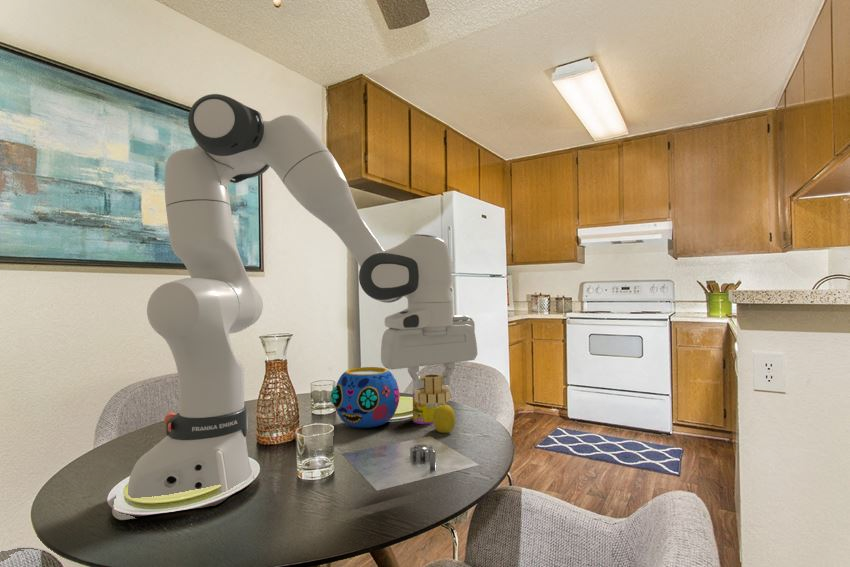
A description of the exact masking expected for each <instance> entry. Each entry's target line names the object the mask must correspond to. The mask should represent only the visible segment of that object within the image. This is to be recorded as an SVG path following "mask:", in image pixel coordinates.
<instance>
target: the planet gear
mask: <svg viewBox="0 0 850 567" xmlns="http://www.w3.org/2000/svg"><path fill="white" fill-rule="evenodd" d="M419 376H420V379H421V380H424V389H421V390H414V401H415V402H418V403H422V404H436V403H437V405H438V404H439V405H441V404H443V403H445V404H446V403H448V402H450V401H451V389H450V388H449V387H447V386H444V376H443V374H440V373H426V374H422V375H419Z"/></svg>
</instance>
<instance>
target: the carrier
mask: <svg viewBox="0 0 850 567" xmlns="http://www.w3.org/2000/svg"><path fill="white" fill-rule="evenodd" d="M341 455H342V456H343V457H344V458H345V459H346V460H347V461H348V462H349V464H351V465H352V466H353V467H354V468H355V470H356V471H358V473H359V474H360V475H361V476H362V477H363V478H364V479H365V480H366V481H367V482H368V483H369V484H370V485H371V486H372V487H373V489H374V490H375V491H376V492H377V491H382V490H385V489H389V488H394V487H397V486H401V485H407V484H409V483H414V482H418V481H421V480H425V479H426V480H427V479H429V478H435V477H437V476H442V475H447V474H449V473H453V472H458V471H462V470H466V469H470V468H474V467H478V466H480V464H479V463H477V462H475V461H473V460H472V459H470V458H469V457H467V456H465V455H463V454H462V453H460V452H458V451H457V450H455V449H454V448H452V447H450V446H448V445H446V444H445V443H443V442H441V441H440V440H438V439H437V438H435V437H432V436H425V437H420V438H415V439H410V440H405V441H400V442H395V443H389V444H384V445H379V446H375V447H370V448H365V449H360V450H354V451H349V452H345V453H341Z"/></svg>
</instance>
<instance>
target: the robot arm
mask: <svg viewBox="0 0 850 567" xmlns="http://www.w3.org/2000/svg"><path fill="white" fill-rule="evenodd" d="M187 120H188V128H189V131H190V133H191V134H190V135H191V136H192V138H193V139H194V141H195V142H196V144H197V145H196V146H194V147H193V148H182V149H180V150H177V151H175V152H173V153H172V154H171V155H170V156H168V158H167V160H166V164H165V173H164V200H165V201H164V202H165V210H166V212H165V213H166V218H167V227H168V235H169V242H170V248H171V250H172V252H173V253H174V255H175V256H177V258H179V260H181V262H182V263H183V265H184V266H185V268H186V270H187V272H188V274H189V276H190V277H184V278H182V279H176V280H173V281H169V282H166V283H163V284H161V285H160V286H158V287H157V288H156V289H155V290H154V291H153V292H152V294H151V295H150V297H149V299H148V301H147V306H146V314H147V320H148V322H149V325H150V326H151V328H152V329H153V330H154V332H156V333H157V334H158V335H160V336H161V337H162V338H163V339H164V341H166V343H167V345H168V347H169V349H170V351H171V353H172V357H173V359H174V362H175V366H176V371H177V379H178V380H177V381H178V408H179V410H178V413H175V412H168V413H167V414H166V415H165V417H164V421H163V422H164V423H165V426H166V427H165V434H166V436H165V437H164V438H163V439H161V440H160V441H159V442H157V443H156V444H155V445H154V446H153V447H152V448H150V449H149V450H147V451H146V452H145V453H144V454H143V455H141V457H139V459H138V460H137V461H136V463H135V464H134V466H133V467H132V469H131V472H130V476H129V479H128V484H127V485H128V495H129V496H130V497H131V498H141V497H152V496H153V497H154V496H161V495H169V494H174V493H179V492H185V491H189V490H195V489H201V488H206V487H210V486H214V485H219V484H220V485H221V488H219V489H218V490H217V491H218V492H226V491H228V490H230V489H231V488H233V487H234V486H236V485H238V484H239V483H241V482H243V481H245V480H247V479H248V478H249V477H250V476H251V474H252V472H253V470H252V466H251V462H250V460H249V459H250V458H249V453H248V447H247V437H246V436H247V435H248V434H247V433H248V425H249V423H248V422H249V421H248V411H247V406H246V405H245V367H244V365H243V363H242V362H241V361H240V360H239V359H237V357H236V355H235V354H234V350H233V347H232V344H231V339H230V334H236V333H239V332H242V331H244V330H246V329H247V328H249V327H250V326H252V325H254V324H256V322H258V321H259V319H260V317H261V315H262V312H263V309H264V308H263V307H264V304H263V299H262V298H263V297H262V296H261V294H260V292H259V291H258V290H257V289H256V288H255V286H254V285H253V283H252V282H251V280H250V278H249V276H248V273H247V271H246V268H245V266H244V263H243V261H242V258H241V255H240V253H239V250H238V246H237V241H236V234H235V229H234V228H235V227H234V222H233V220H234V219H233V214H232V206H231V199H230V195H229V194H230V193H229V184H230V183H233V184H238V183H241V182H243V181H245V180H247V179H252V178H255V177H258V176H261V175H262V174H264V173H266V172H267V171H268V170H269V168H271V169H272V170H273V171H274V172H275V174H276V175H277V176H278V178H279V179H280V181H281V182H282V184H283V185H284V186H285V188H286V189H287V190H288V192H289V193H290V194H291V196H292V197H293V198H294V199H295V200H296V201H297V202H298V203H299V204H300V206H302V207H303V208H304V209H305V210H307V212H309V214H312V216H314V217H315V218H317V219H318V220H320V221H321V222H322V223H323V224H324V225H326V226H327V227H328V228H330V229H331V231H333V232H334V233H335V234H336V235H337V237H339V239H340V240H341V242H342V243H343V244H344V246H345V247H346V248H347V250H348V251H349V252H350V254H351V255H352V256H353V258H354V259H355V261H356V262H357V264H358V265H359V267H360V268H359V270H358V271H359V273H358V280H359V285H360V287H361V289H362V290H363V292H364V293H365V294H366V295H367V296H368V297H369V298H371V299H373V300H376V301H378V302H381V303H389V304H390V303H394V302H397V301H399V300H401V299H402V298H403V297H405V298H406V299H407V308H405V309H403V310H400V311H397V312H395V313H393V314H390V315H387V316H386V317H385V319H384V326H385V327H386V328H387V329H386V330H385V331H384V332H383V334H382V338H381V346H380V347H381V348H380V362H381V365H382V366H384V367H383V368H385V369H387V370H399V369H400V370H401V369H407V372H408V374H409V376H410V378H411V380H413V381H412V382H413V383H412V384H413V388H414V389H415V390H421V389H424V380H421V379H419V377H418V376H419V375H418V374H417V373H419V372H420V367H425V366H426V367H427V366H434V365H435V366H436V365H442V364H443V367H444V371H443V373H442V375H443V376H444V387H447V386H448V387H449V386H451V377H452V374H453V372H454V370H455V369H456V368H455V365H456V364H455V363H460V362H462V363H463V362H469V361H475V359H476V358H477V356H478V345H477V337H476V331H475V330H476V329H475V321H474V320H473V318H471V317H470V316H469V315H466V314H464V315H453V312H454V311H453V310H454V309H453V297H452V295H451V285H452V280H453V275H452V273H453V272H452V259H451V253H450V248H449V246H448V244H447V243H446V241H445V240H444V239H442V238H440V237H438V236H435V235H431V234H420V233H419V234H413V235H411V236H409V238H407V239H406V240H404V241H403V242H401V243H399V244H397V245H396V246H393V247H392V248H388V249H384V248H383V247H382V245H381V243H380V242H379V241H378V239H377V238H376V237H375V234H373V233H372V231H371V230H370V228H369V227H368V225H367V224H366V222H365V221H364V219H363V218H362V215H361V214H360V212H359V210H358V207H357V205H356V202H355V200H354V197H353V194H352V192H351V189H350V186H349V183H348V180H347V178H346V176H345V174H344V172H343V170H342V169H341V167H340V165H339V164H338V161H337V160H336V158H335V157H334V156H333V154H332V153H331V151H330V150H329V149H328V147H327V146H326V145H325V143H324V142H323V141H322V140H321V138H319V137H320V136H318V135H317V134H316V133H315V132H314V131H313V130H312V129H311V127H309V126H308V125H307V124H306V123H305V121H303V120H302V119H301V118H300V117H297V116H295V115H291V114H290V115H289V114H286V115H285V114H284V115H281V116H277V117H275V118H273V119H271V120H269V121H266V120H264V119H263V116H262V114H261V113H260V111H258V110H256V109H253V108H252V107H250V106H247V105H246V104H243V103H242V102H240V101H238V100H236V99H234V98H232V97H230V96H227V95H225V94H220V93H211V94H206V95H204V96H202V97H200V98H198V99H197V100H196V101H195V102H194V103H193V104H192V106H191V107H190V110H189V113H188V119H187ZM128 504H129V505H132V506H133V505H134V504H133V503H132V502H130V501H128ZM111 514H112V516H113V517H114V518H115V519H117V520H119V521H125V520H130V519H131V520H133V519H136V518H135V517H133V516H130V515H126V514H121V513H119V512H117V511H115V510H114V509H112V508H111Z"/></svg>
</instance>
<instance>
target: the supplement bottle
mask: <svg viewBox="0 0 850 567" xmlns="http://www.w3.org/2000/svg"><path fill="white" fill-rule="evenodd" d="M420 376H421V375H418V377H419V379H420ZM414 390H415V389H414V387H413V388H412V422H413V423H415V424H419V425H433V426H434V423H433V415H434V411H435V409H436V408H437V407H438V404H437V403H436V404H422V403H418V402H415V401H414Z"/></svg>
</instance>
